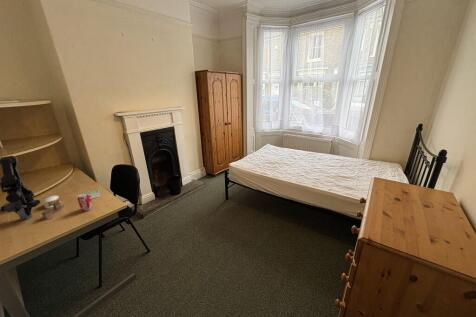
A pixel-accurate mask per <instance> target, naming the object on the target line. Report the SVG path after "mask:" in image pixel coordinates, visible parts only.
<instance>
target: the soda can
mask: <svg viewBox="0 0 476 317" xmlns="http://www.w3.org/2000/svg"><path fill="white" fill-rule="evenodd" d="M77 202H78V204H79V208H80V210H81V211H82V212H88V211H90V210H92V208H93V207H94V206H93V202H92V199H90V196H89V195H88V194H87V193H86V192H83V193H80V194H78V195H77Z"/></svg>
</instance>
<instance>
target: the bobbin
mask: <svg viewBox="0 0 476 317" xmlns="http://www.w3.org/2000/svg"><path fill="white" fill-rule="evenodd" d="M59 197H60V196H59V195H51V196H48V197H45V198H44V199H42V203H44V204H45V205H44V208H45V209H51V208H52V209H53V208H54V207H53V203H54V202H55V201H57V200H59ZM60 204H62V202H61V201H60Z"/></svg>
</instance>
